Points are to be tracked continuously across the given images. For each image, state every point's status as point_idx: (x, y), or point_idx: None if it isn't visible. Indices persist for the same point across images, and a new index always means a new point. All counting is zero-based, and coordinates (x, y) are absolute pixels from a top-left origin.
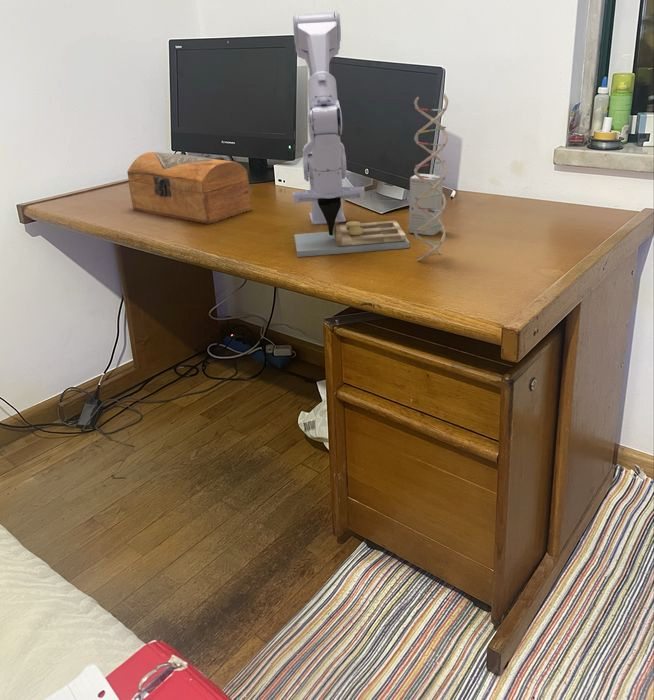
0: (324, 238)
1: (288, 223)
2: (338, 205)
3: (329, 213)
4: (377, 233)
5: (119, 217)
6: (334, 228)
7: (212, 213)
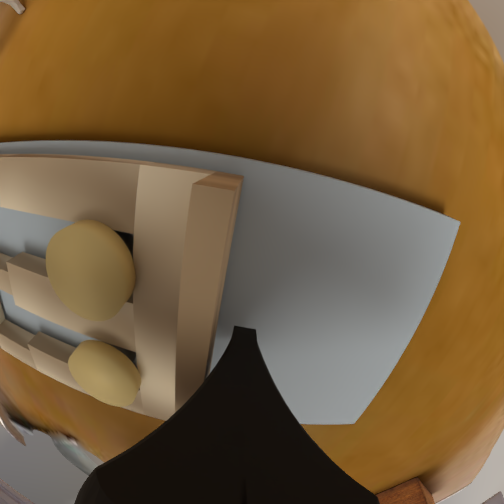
0: (268, 357)
1: None
2: (107, 499)
3: (255, 449)
4: (22, 259)
5: (457, 477)
6: None
7: (410, 493)
